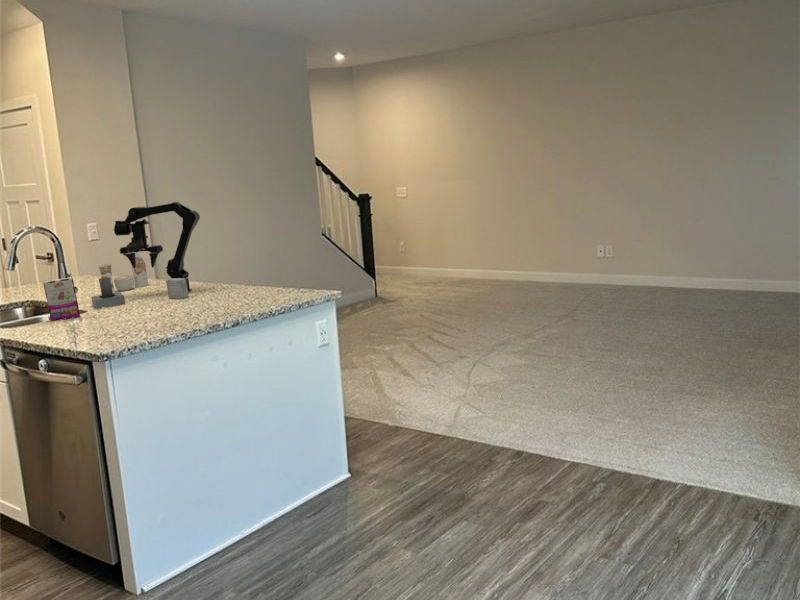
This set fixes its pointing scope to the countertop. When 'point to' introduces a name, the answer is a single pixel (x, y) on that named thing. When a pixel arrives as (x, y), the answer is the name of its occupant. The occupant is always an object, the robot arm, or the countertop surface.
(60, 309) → the candy bar box
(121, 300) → the housing
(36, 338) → the countertop surface
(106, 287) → the grey upright block
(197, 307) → the countertop surface
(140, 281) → the cosmetic set
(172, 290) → the medicine box
